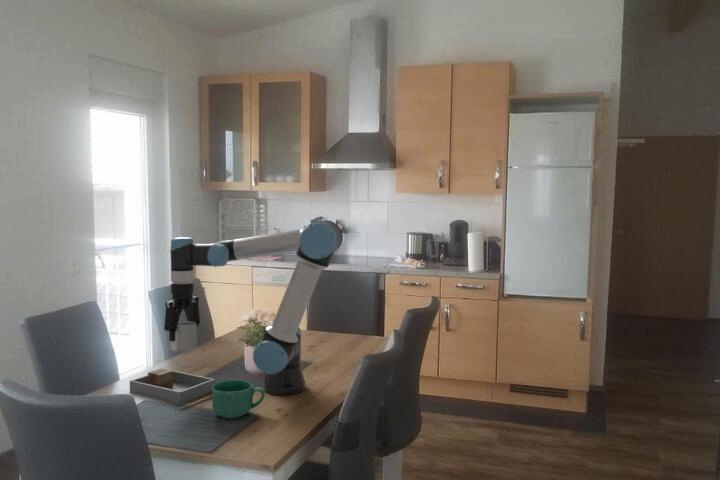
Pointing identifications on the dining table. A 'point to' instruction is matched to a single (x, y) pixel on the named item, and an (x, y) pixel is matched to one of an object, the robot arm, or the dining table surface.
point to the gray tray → (174, 387)
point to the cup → (186, 336)
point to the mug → (234, 398)
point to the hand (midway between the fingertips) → (182, 347)
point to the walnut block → (161, 378)
